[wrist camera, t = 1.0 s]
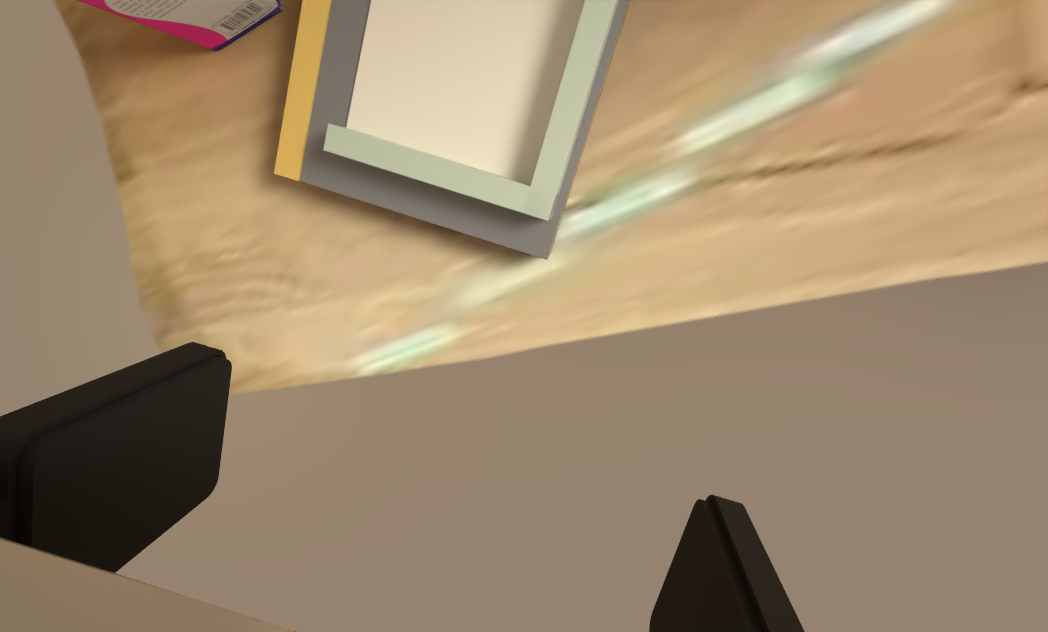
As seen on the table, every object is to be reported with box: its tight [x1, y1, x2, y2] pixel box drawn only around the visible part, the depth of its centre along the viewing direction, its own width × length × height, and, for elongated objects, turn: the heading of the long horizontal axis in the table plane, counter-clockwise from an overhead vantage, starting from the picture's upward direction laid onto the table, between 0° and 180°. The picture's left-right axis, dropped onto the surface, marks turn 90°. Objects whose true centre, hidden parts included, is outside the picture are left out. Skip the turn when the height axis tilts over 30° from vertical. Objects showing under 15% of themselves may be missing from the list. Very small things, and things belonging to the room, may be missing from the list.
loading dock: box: [274, 0, 630, 260], centre depth 31 cm, size 20×18×6 cm
